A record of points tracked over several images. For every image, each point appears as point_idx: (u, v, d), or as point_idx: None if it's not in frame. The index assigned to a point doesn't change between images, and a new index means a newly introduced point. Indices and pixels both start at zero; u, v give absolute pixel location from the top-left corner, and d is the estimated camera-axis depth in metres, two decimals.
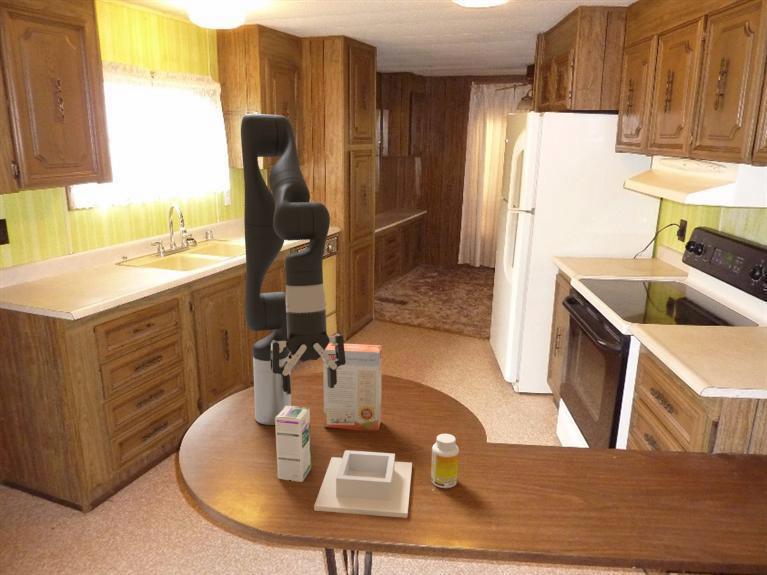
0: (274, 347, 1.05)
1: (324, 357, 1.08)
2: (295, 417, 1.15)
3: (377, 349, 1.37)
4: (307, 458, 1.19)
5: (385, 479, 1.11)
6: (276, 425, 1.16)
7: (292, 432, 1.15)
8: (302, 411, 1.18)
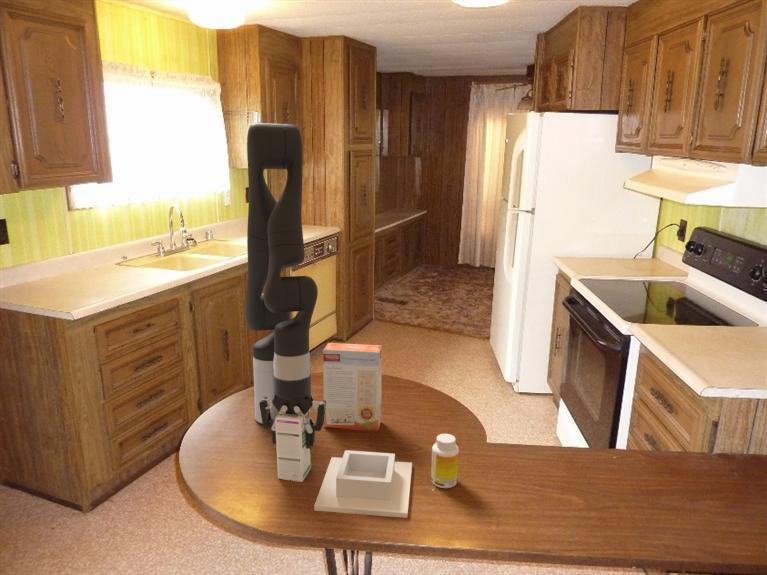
0: (260, 405, 1.17)
1: None
2: (295, 417, 1.15)
3: (377, 349, 1.37)
4: (307, 458, 1.19)
5: (385, 479, 1.11)
6: (276, 425, 1.16)
7: (292, 432, 1.15)
8: None
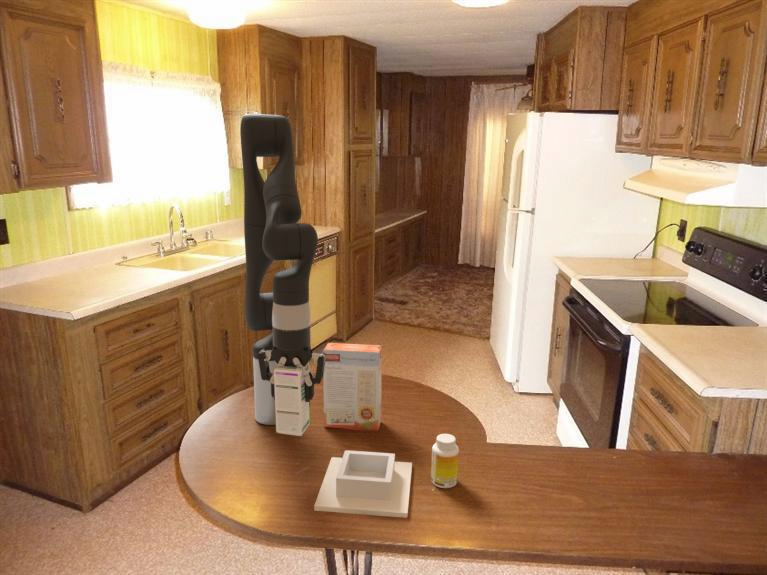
0: (259, 357, 1.14)
1: None
2: (294, 369, 1.12)
3: (377, 349, 1.37)
4: (306, 412, 1.17)
5: (385, 479, 1.11)
6: (275, 377, 1.13)
7: (291, 384, 1.13)
8: None
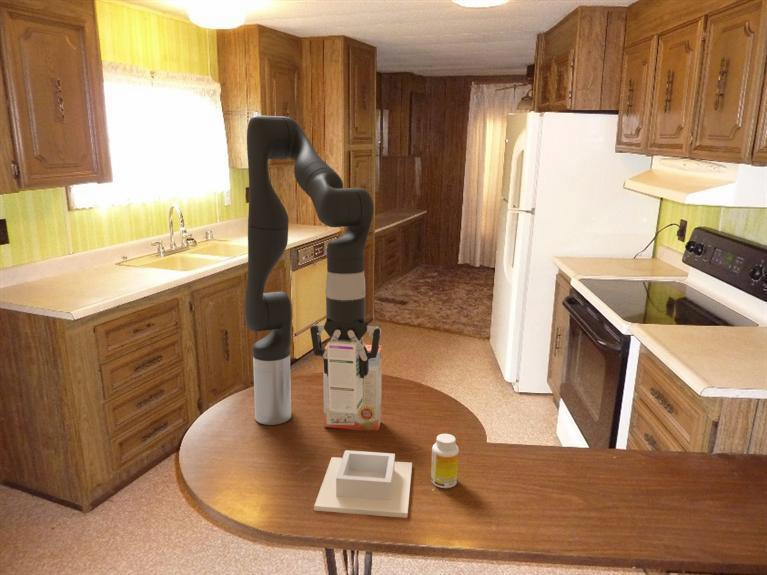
0: (312, 331, 1.09)
1: None
2: (349, 342, 1.07)
3: None
4: (360, 389, 1.11)
5: (385, 479, 1.11)
6: (329, 351, 1.08)
7: (346, 358, 1.08)
8: None
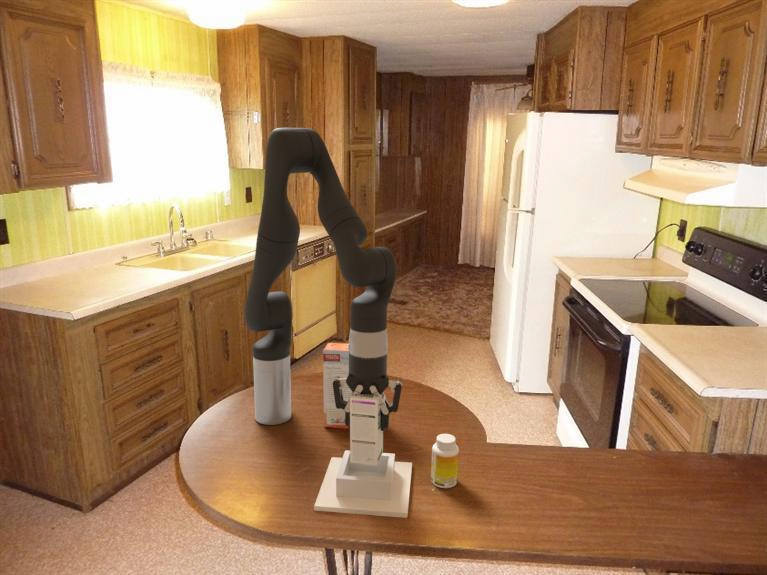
0: (334, 385, 1.11)
1: None
2: (371, 398, 1.09)
3: None
4: (380, 441, 1.13)
5: (385, 479, 1.11)
6: (351, 406, 1.10)
7: (368, 413, 1.09)
8: None
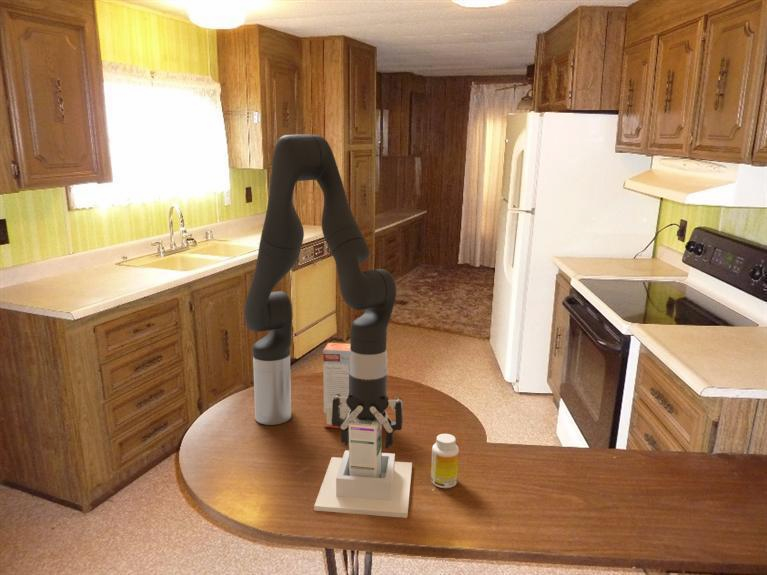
0: (334, 403, 1.11)
1: (380, 420, 1.11)
2: (370, 424, 1.10)
3: None
4: (379, 466, 1.15)
5: (385, 479, 1.11)
6: (350, 432, 1.11)
7: (367, 440, 1.11)
8: None
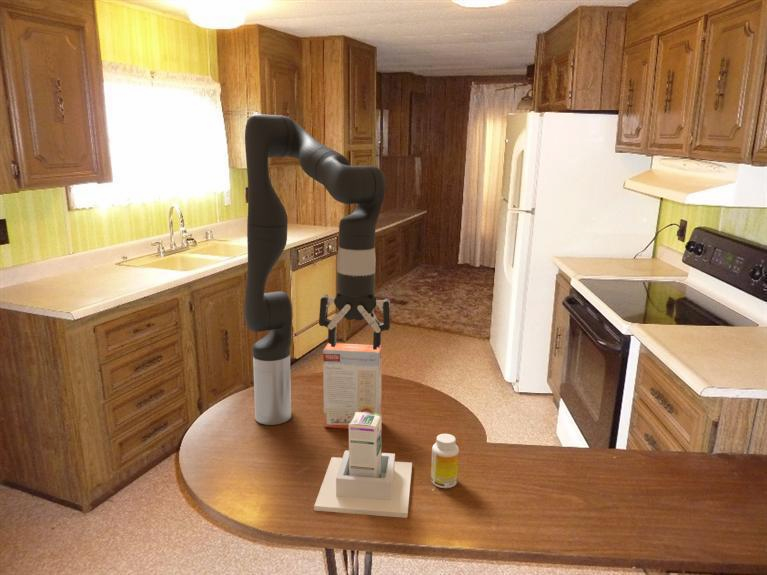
0: (321, 302, 1.11)
1: (367, 319, 1.11)
2: (370, 424, 1.10)
3: (377, 349, 1.37)
4: (379, 466, 1.15)
5: (385, 479, 1.11)
6: (350, 433, 1.11)
7: (366, 440, 1.11)
8: (375, 418, 1.13)
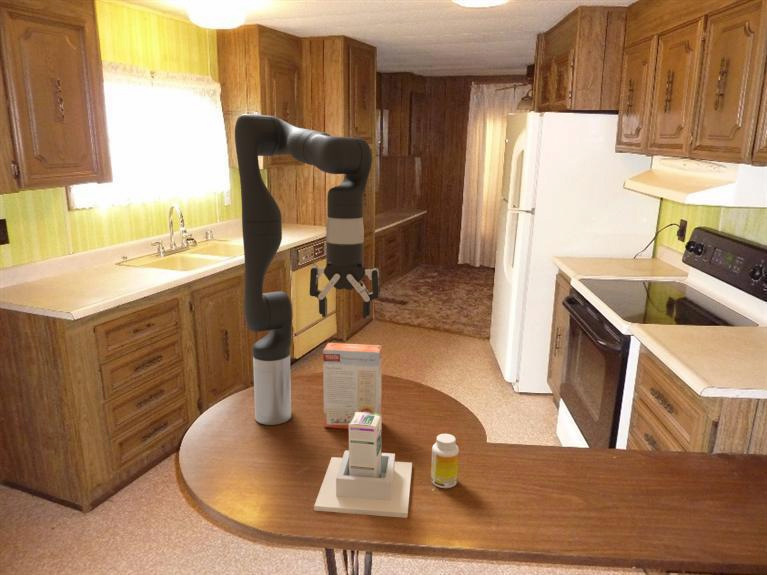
0: (311, 272, 1.14)
1: (357, 288, 1.13)
2: (370, 424, 1.10)
3: (377, 349, 1.37)
4: (379, 466, 1.15)
5: (385, 479, 1.11)
6: (350, 433, 1.11)
7: (366, 440, 1.11)
8: (375, 418, 1.13)
